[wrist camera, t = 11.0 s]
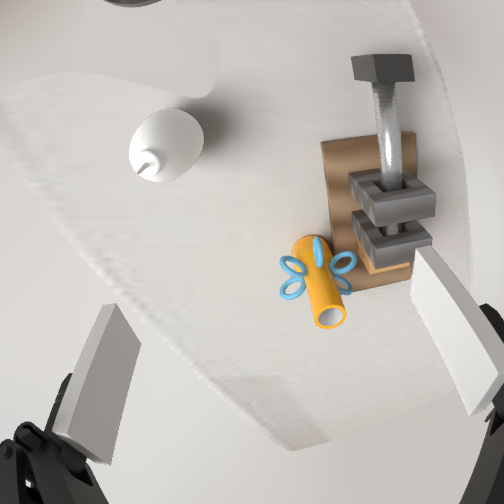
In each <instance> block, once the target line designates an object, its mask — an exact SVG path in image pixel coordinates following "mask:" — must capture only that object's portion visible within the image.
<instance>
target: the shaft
mask: <svg viewBox="0 0 504 504" xmlns="http://www.w3.org/2000/svg"><path fill="white" fill-rule="evenodd" d="M351 61H352V66H353V72H354V78H355V80H360V81H369V82H371V83H372V90H373V98H374V106H375V114H376V124H377V134H378V146H379V160H380V178H381V191H382V192H389V191H396V190H402V152H401V134H400V121H399V110H398V100H397V91H396V83H395V82H411V81H415V79H414V71H413V64H412V57H411V55H410V54H373V55H362V56H353V57H351ZM382 232H383V233H384V234H386V235H394V234H399V233H401V232H402V223H397V224H391V225H386V226H382Z"/></svg>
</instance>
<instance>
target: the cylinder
mask: <svg viewBox="0 0 504 504" xmlns="http://www.w3.org/2000/svg"><path fill="white" fill-rule="evenodd" d="M346 256H349V257H351V258H352V260H351V262H350V264H349V265H347V266H346V267H344V268H341V269H336V268H335V267H334V265H335V263H336V262H337V261H338V260H339V259H340V258H342V257H346ZM285 261H289V262H292V263H294V267H295V271H294V270H292V269H291V268H289V267H288V266H287V264H286V263H285ZM356 262H357V256H356V254H355V253H353V252H351V251H344V252H341V253H338V254H337V255H335V256H334V257H333V255H332V253H331V251H330V248H329V246H328V244H327V242H326V241H325V240H324V239H323V238H321V237H319V236H314V235H311V236H305V237H303V238H301V239H300V240H298V241H297V242H296V243H295V245H294V247H293V249H292V256H283V257H281V258H280V266H281V267H282V269H283V270H284V271H285V272H286V273H288V274H289V275H291V276H293V277H292V278H290V279H288V280H287V281H286V282H285V283H284V284H283V285H282V287H281V289H280V295H281V297H282V298H283V299H285V300H292V299H295V298H297V297H298V296H300V295H301V294H302V293H303V292H304V290H305V289H306V288H307V292H308V296H309V300H310V304H311V308H312V312H313V317H314V321H315V324H316V325H317V326H318V327H320V328H323V329H330V328H334V327H337V326H339V325H340V324H341V323H342V322H343V321H344V320H345V318H346V315H347V314H346V310H345V307H344V304H343V301H342V299H341V296H340V293H341V294H343V295H350V294H351V293H352V292H353V288H352V285H351V284H350V282H349V281H348V280H347V279H345V278H344V277H343V276H341V275H339V274H344V273H347V272H349V271H350V270H351V269H352V268H353V267H354V266H355V265H356ZM332 273H334V274H332ZM335 279H337V280H339V281H341V282H342V283H344V284H345V286H346V287H347V289H348V290H345V289H343V288H341V287H340V286H338V285H337V284H336V282H335ZM297 281H299V282H301V286H300V288H299V289H298V290H297V291H296V292H294V293H292V294H286V293H285V290H286V288H287V287H288V286H289V285H290V284H292V283H293V282H297Z"/></svg>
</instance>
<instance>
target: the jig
mask: <svg viewBox="0 0 504 504" xmlns="http://www.w3.org/2000/svg"><path fill="white" fill-rule="evenodd" d="M400 134H401V152H402V190H396V191H389V192H382V191H381V178H380V160H379V146H378V135H371V136H362V137H354V138H346V139H339V140H332V141H325V142H321V149H322V156H323V163H324V170H325V178H326V186H327V195H328V204H329V213H330V223H331V234H332V245H333V257H334V256H335V255H337V254H338V253H341V252H344V251H351V252H353V253H355V254H356V256H357V262H356V265H355V266H354V267H353V268H352V269H351V270H350V271H349V272H347V273H344V274H339V275H341V276H343V277H344V278H345V279H347V280H348V281H349V282H350V284H351V285H352V288H353V292H356V291H361V290H365V289H370V288H374V287H379V286H383V285H387V284H392V283H396V282H400V281H404V280H408V279H410V278H411V269H412V262H413V261H414V260H415V250H416V248H420V247H424V246H429V245H431V246H432V236H431V235H430V234H429V233H428V232H427V231H426V230H425V229H424V228H423V227H422V226H421V224H420V223H419V222H418V221H417V220H418V219H423V218H428V217H434V216H435V202H436V193H435V192H433V191H432V190H431V189H430V188H428V187H427V186H426V185H425V184H423V183H422V182H421V181H419V180H418V179H417V164H416V134H415V133H413V132H400ZM397 223H402V232H401V233H399V234H394V235H386V234H384V233H383V232H382V226H386V225H391V224H397ZM357 238H358V240H359V241H360V243H361V245H362V247H363V248H364V250H365V252H366V253H367V255H368V257H369V259H370V260H371V262H372V264H373V266H374V268H375V269H376V270H377V269H381V268H386V267H390V266H395V265H399V264H404V263H408V262H410V264H409V266H406V267H402V268H397V269H393V270H388V271H384V272H379V273H375V274H369V273H368V271H367V269H366V267H365V265H364V263H363V261H362V259H361V257H360V255H359V254H358V245H357ZM351 260H352V258H351V257H349V256H346V257H342V258H340V259H339V260H338V261H337V262H336V263H335V265H334V267H335V268H336V269H341V268H344V267H346V266H347V265H349V264H350V262H351ZM335 282H336V284H337V285H338V286H340V287H341V288H343V289H345V290H348V289H347V287H346V286H345V284H344V283H342V282H341V281H339V280H337V279H335ZM340 295H342V294H341V293H340Z"/></svg>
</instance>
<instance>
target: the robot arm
mask: <svg viewBox="0 0 504 504" xmlns="http://www.w3.org/2000/svg"><path fill="white" fill-rule="evenodd" d="M104 1H106V2H109V3H111V4H114V5H117V6H121V7H140V6H145V5H149V4H152V3H155V2H158V1H160V0H104ZM410 299H411V301H412V302H413V304H414V306H415V308H416V309H417V311H418V313H419V315H420V317H421V318H422V320H423V322H424V324H425V326H426V328H427V329H428V331H429V333H430V335H431V337H432V339H433V341H434V343H435V345H436V346H437V348H438V350H439V352H440V354H441V356H442V358H443V360H444V362H445V364H446V366H447V369H448V371H449V373H450V375H451V377H452V379H453V381H454V383H455V386H456V388H457V390H458V392H459V394H460V397H461V399H462V401H463V403H464V406H465V408H466V410H467V412H468V415H469V417H470V416H472V415H474V414H476V413H479V412H481V411H483V410H485V409H486V408H487V407H488V405H489V404H490V403H491V401H492V402H493V404H494V408H493V410H492V411H491V412H490V414H489V415H488V416H487V418H486V420H485V422H487V421H488V420H489V419H490V422H489V426H488V429H487V432H486V436H485V439H484V442H483V445H482V448H481V451H480V454H479V457H478V460H477V462H476V465H475V468H474V471H473V473H472V476H471V478H470V480H469V483H468V485H467V488H466V490H465V492H464V495H463V497H462V499H461V501H460V503H459V504H504V320H503V319H502V317H501V316H500V314H499V313H498V312H497V311H496V310H495V309H494V308H492V307H491V306H490V305H488V304H484V305H481V306H478V305H477V304H476V302H475V301H474V299H473V298H472V297H471V295H470V294H469V293H468V291H467V290H466V289H465V287H464V286H463V285H462V283H461V282H460V281H459V279H458V278H457V277H456V276H455V274H454V273H453V272H452V270H451V269H450V268H449V267H448V265H447V264H446V263H445V262H444V260H443V259H442V258H441V257H440V256H439V254H438V253H437V252H436V251H435V250H434V248H433V247H432V246H431V245H429V246H424V247H420V248H416V250H415V260H414V270H413V278H412V286H411V293H410ZM140 346H141V343H140V341H139V340H138V338H137V337H136V335H135V333H134V332H133V330H132V329H131V327H130V326H129V324H128V322H127V320H126V319H125V317H124V315H123V314H122V312H121V310H120V309H119V307H118V305H117V304H116V303H115V304H108V305H103V306H102V308H101V310H100V312H99V315H98V317H97V319H96V321H95V323H94V325H93V328H92V330H91V332H90V334H89V336H88V339H87V341H86V343H85V345H84V348H83V350H82V352H81V355H80V357H79V359H78V362H77V364H76V366H75V369H74V372H73V373H69V374H68V376H67V377H66V378H65V379H64V381H63V382H62V384H61V387H60V389H59V392H58V393H59V394H58V395H57V397H56V400H55V403H54V405H53V408H52V410H51V413H50V416H49V418H48V421H47V424H46V427H45V430H44V432H43V431H42V430H40V429H39V428H38V427H37V426H35V425H34V424H33V423H31V422H24V423H22V424H20V426H18V427H17V429H16V431H15V433H14V437H13V441H12V440H10V439H6V440H4V441H2V443H1V444H0V504H109V503H108V501H107V499H106V498H105V496H104V494H103V492H102V490H101V488H100V486H99V484H98V482H97V481H96V478H95V476H94V475H93V472H92V470H91V468H90V466H89V465H88V464H87V463H86V459H87V458H89V459H91V460H92V461H93V462H95V463H99V464H105V465H111V461H112V457H113V452H114V447H115V442H116V438H117V434H118V430H119V425H120V421H121V417H122V413H123V409H124V405H125V401H126V397H127V393H128V389H129V386H130V382H131V378H132V375H133V371H134V367H135V364H136V360H137V357H138V353H139V350H140ZM25 479H26V480H27V481H29V482H31V487H28V486H26V481H25Z"/></svg>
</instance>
